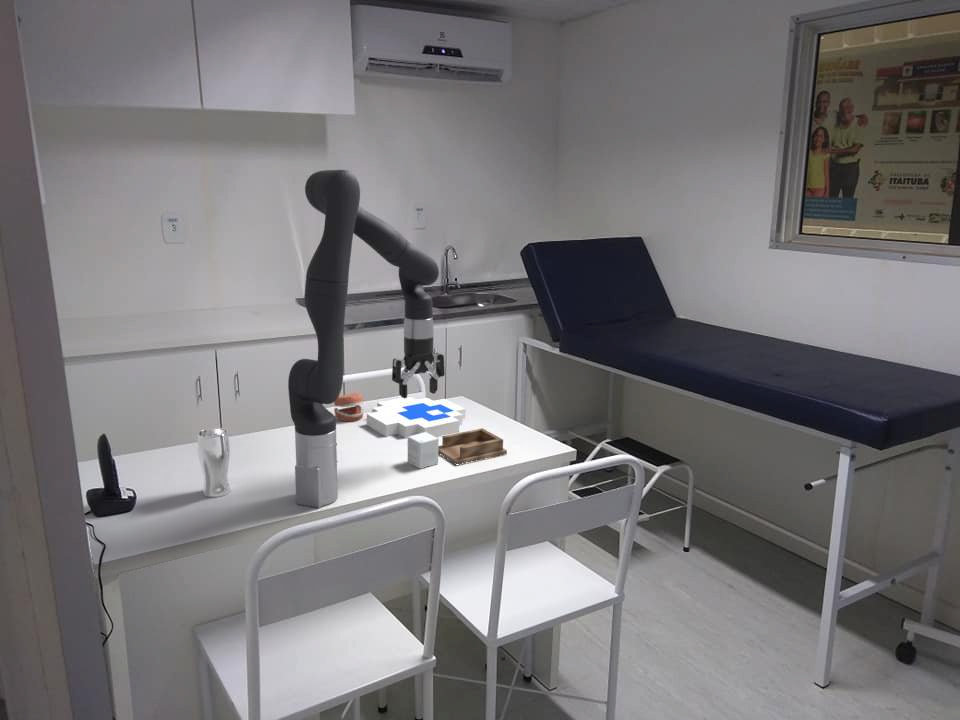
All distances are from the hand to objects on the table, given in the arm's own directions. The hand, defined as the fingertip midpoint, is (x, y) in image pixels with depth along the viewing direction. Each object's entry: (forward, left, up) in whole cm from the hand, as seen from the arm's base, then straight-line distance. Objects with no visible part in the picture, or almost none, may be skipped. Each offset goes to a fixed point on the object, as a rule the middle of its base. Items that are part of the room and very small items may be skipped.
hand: (418, 395), depth 191 cm
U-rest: (+10, -11, -18) cm, 24 cm away
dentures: (+24, +32, -19) cm, 44 cm away
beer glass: (-35, +38, -19) cm, 54 cm away
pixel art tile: (+28, +12, -19) cm, 36 cm away
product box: (-1, -2, -19) cm, 19 cm away
